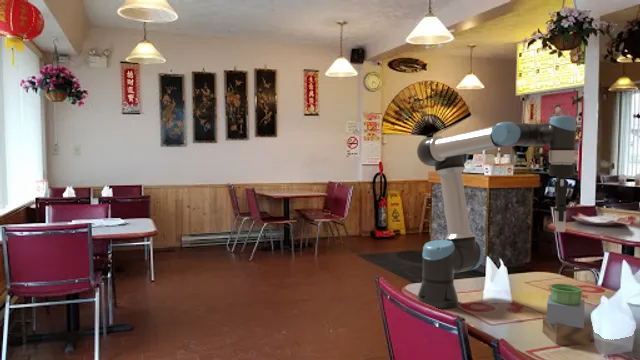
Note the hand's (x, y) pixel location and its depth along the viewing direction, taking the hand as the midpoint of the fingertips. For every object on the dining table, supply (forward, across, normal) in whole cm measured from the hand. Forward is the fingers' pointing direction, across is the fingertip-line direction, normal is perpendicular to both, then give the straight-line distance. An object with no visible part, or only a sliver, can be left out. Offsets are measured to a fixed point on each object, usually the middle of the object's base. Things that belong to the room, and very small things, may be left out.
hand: (559, 228), depth 158 cm
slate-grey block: (+27, -10, -2) cm, 29 cm away
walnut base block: (+33, -10, -2) cm, 35 cm away
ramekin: (+21, -10, -2) cm, 24 cm away
